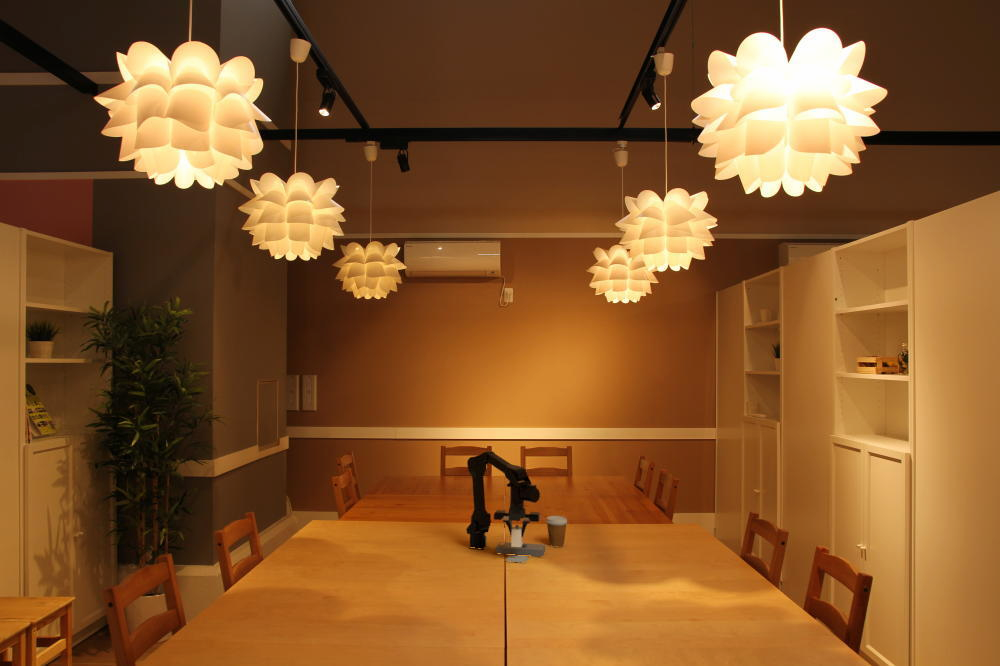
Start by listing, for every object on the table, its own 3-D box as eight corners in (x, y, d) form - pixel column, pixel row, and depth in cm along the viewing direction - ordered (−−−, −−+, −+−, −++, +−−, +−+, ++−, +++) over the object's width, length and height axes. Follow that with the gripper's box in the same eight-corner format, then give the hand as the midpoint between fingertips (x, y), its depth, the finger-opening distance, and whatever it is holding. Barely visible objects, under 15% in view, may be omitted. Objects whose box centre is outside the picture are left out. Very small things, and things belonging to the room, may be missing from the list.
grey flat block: (495, 554, 258) (495, 545, 258) (499, 548, 266) (499, 540, 266) (542, 557, 254) (542, 548, 254) (545, 551, 262) (545, 543, 262)
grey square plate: (505, 562, 247) (505, 560, 247) (509, 556, 255) (509, 554, 255) (525, 563, 246) (525, 562, 246) (528, 557, 254) (528, 556, 254)
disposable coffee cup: (568, 548, 267) (568, 520, 267) (546, 548, 267) (546, 520, 267) (566, 542, 276) (566, 515, 277) (545, 542, 276) (545, 515, 277)
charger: (511, 546, 249) (511, 526, 250) (513, 543, 253) (513, 523, 254) (521, 547, 249) (521, 526, 249) (522, 544, 253) (522, 524, 253)
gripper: (491, 501, 246) (490, 541, 245) (536, 504, 242) (536, 543, 241) (496, 496, 257) (496, 533, 256) (540, 498, 253) (540, 536, 252)
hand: (517, 536), depth 251 cm, fingers closed on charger, 4 cm apart
